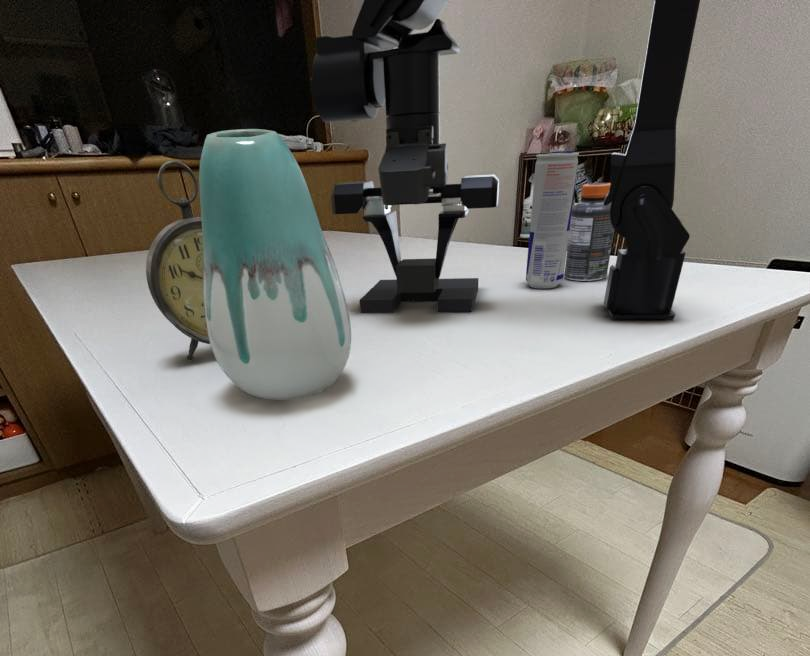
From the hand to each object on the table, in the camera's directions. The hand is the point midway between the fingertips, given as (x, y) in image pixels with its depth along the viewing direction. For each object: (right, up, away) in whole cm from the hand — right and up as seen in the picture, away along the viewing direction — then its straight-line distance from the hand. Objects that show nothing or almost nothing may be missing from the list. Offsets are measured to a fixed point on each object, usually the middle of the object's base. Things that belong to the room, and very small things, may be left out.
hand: (418, 278), depth 64 cm
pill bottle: (+25, +5, +11) cm, 27 cm away
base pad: (+1, -1, +4) cm, 5 cm away
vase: (-12, -19, -18) cm, 29 cm away
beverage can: (+18, +3, +8) cm, 20 cm away
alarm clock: (-21, -12, -9) cm, 26 cm away
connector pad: (0, -1, +1) cm, 1 cm away
